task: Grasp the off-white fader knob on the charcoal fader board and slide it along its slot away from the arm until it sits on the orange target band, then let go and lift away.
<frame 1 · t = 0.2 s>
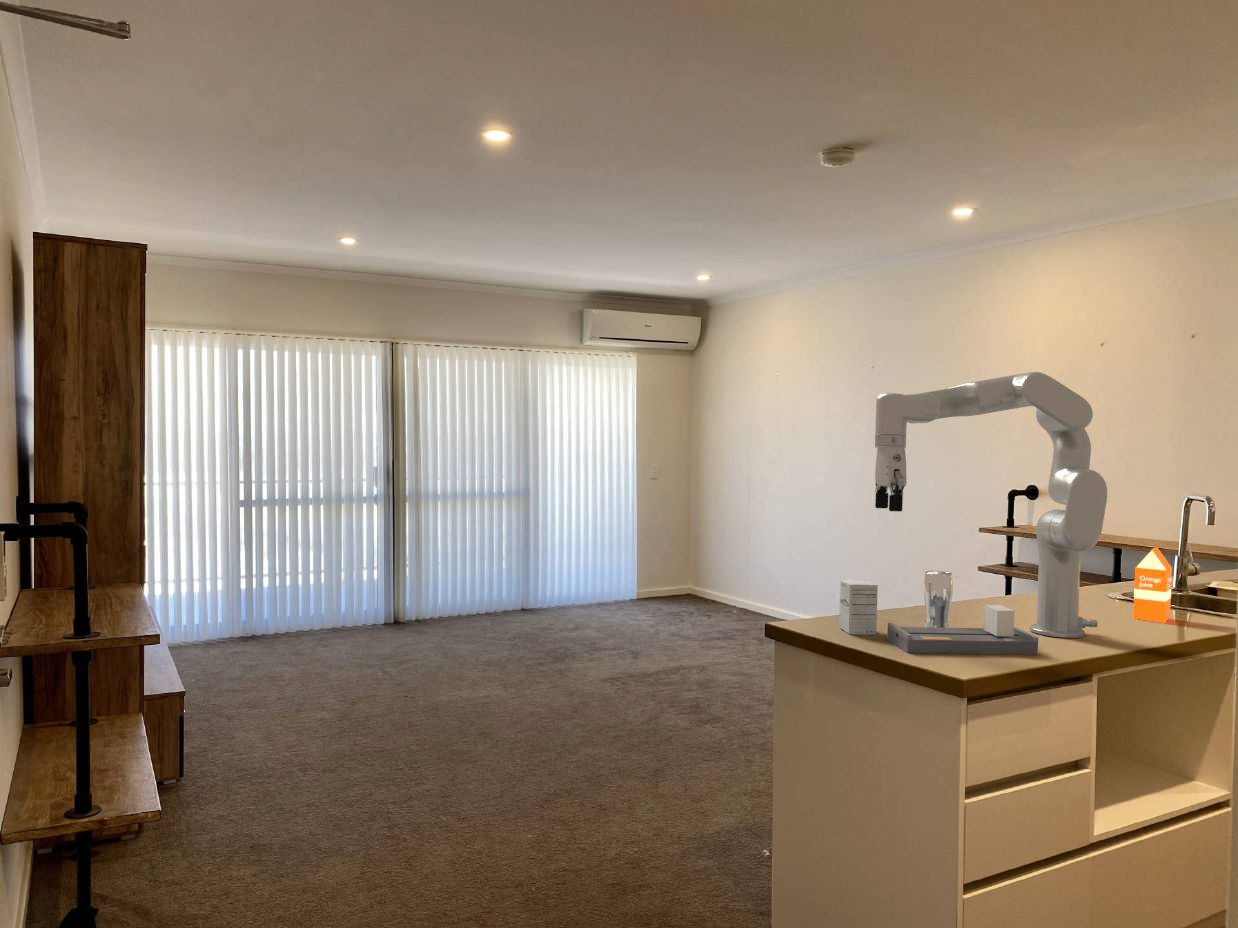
hand: (888, 509, 222), 31 cm above the counter, tool pointing down, fingers open, 9 cm apart
fader board: (960, 646, 207), on the counter
orange juice: (1151, 619, 246), on the counter
supplement box: (857, 632, 222), on the counter
fader: (998, 622, 207), point 6 cm above the counter, slide at 0.0 cm
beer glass: (936, 631, 224), on the counter
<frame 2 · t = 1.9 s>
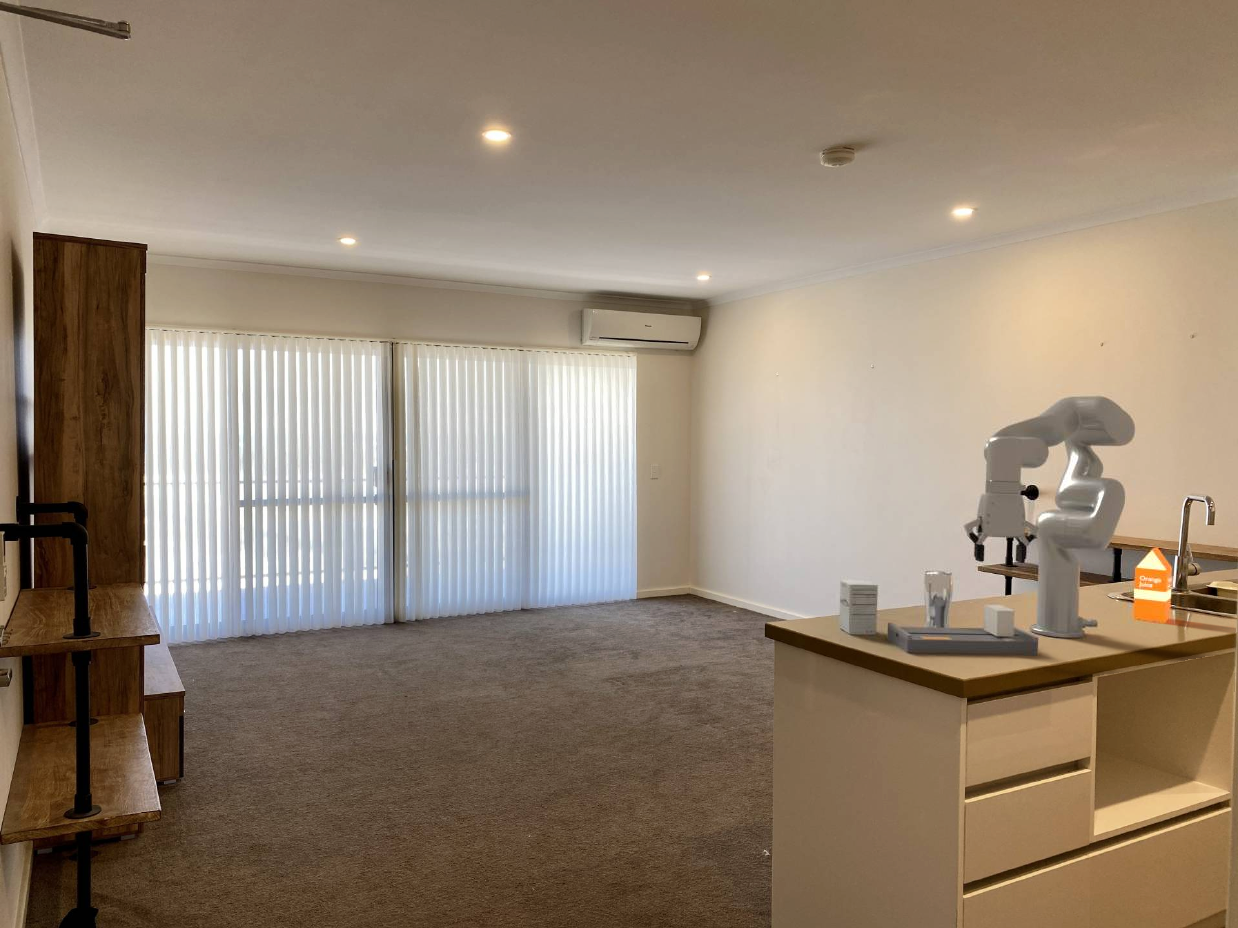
hand: (999, 561, 206), 20 cm above the counter, tool pointing down, fingers open, 9 cm apart
nothing on the counter moved.
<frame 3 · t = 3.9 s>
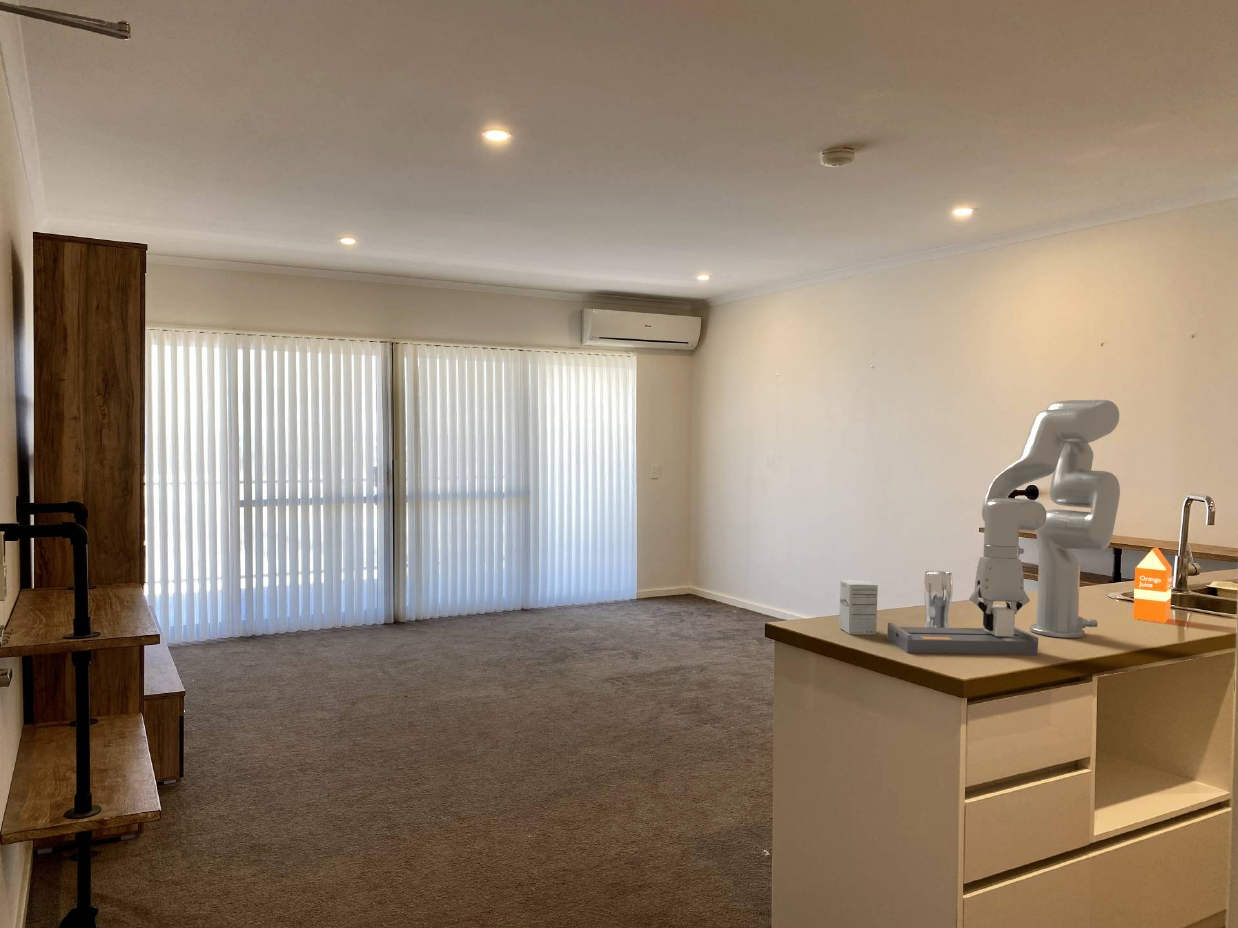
hand: (998, 629, 207), 4 cm above the counter, tool pointing down, fingers closed on fader, 4 cm apart
fader: (998, 622, 207), point 6 cm above the counter, slide at 0.0 cm, touching gripper
everything else where it was.
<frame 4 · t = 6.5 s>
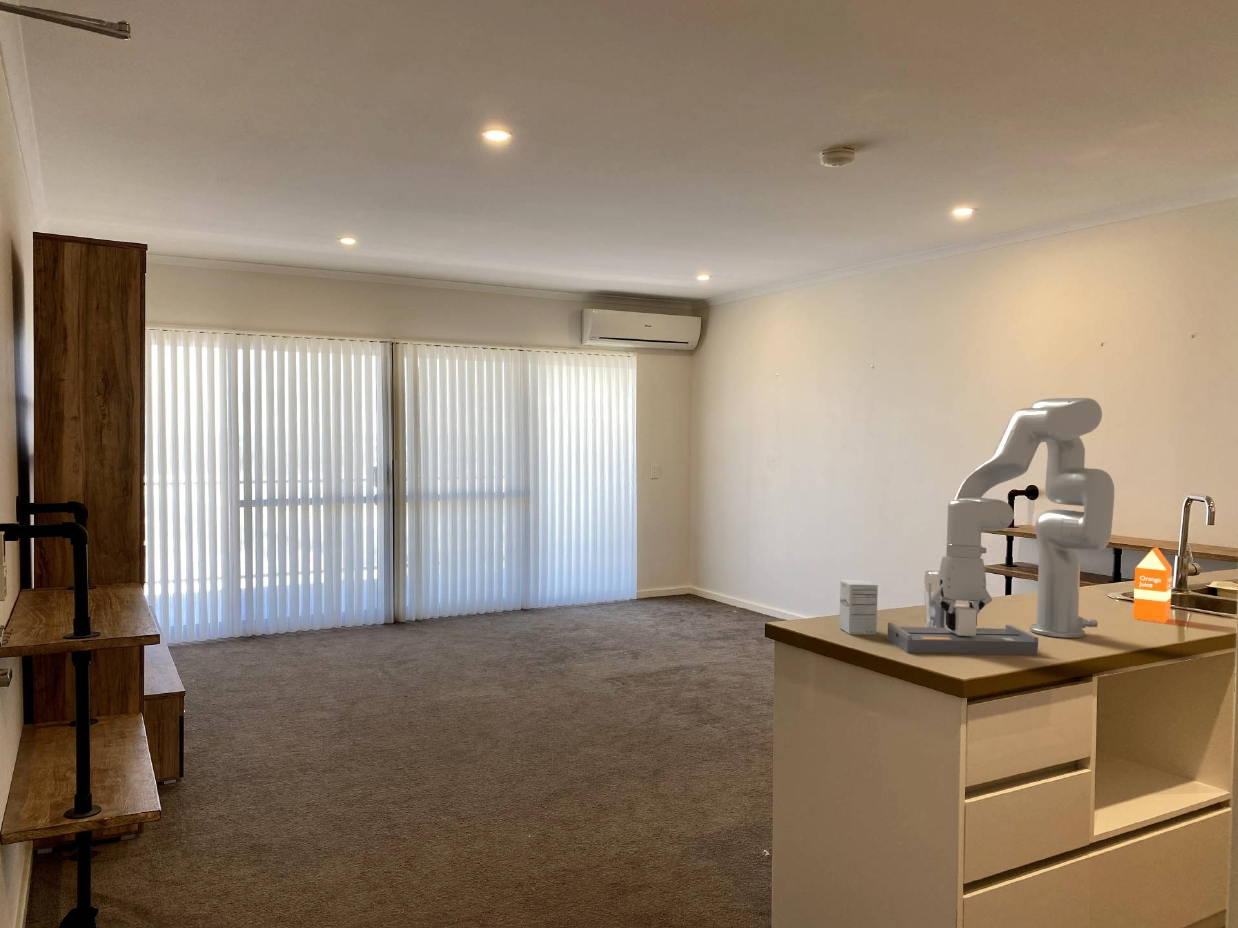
hand: (961, 628, 207), 4 cm above the counter, tool pointing down, fingers closed on fader, 4 cm apart
fader: (961, 622, 207), point 6 cm above the counter, slide at 8.9 cm, touching gripper
everything else where it was.
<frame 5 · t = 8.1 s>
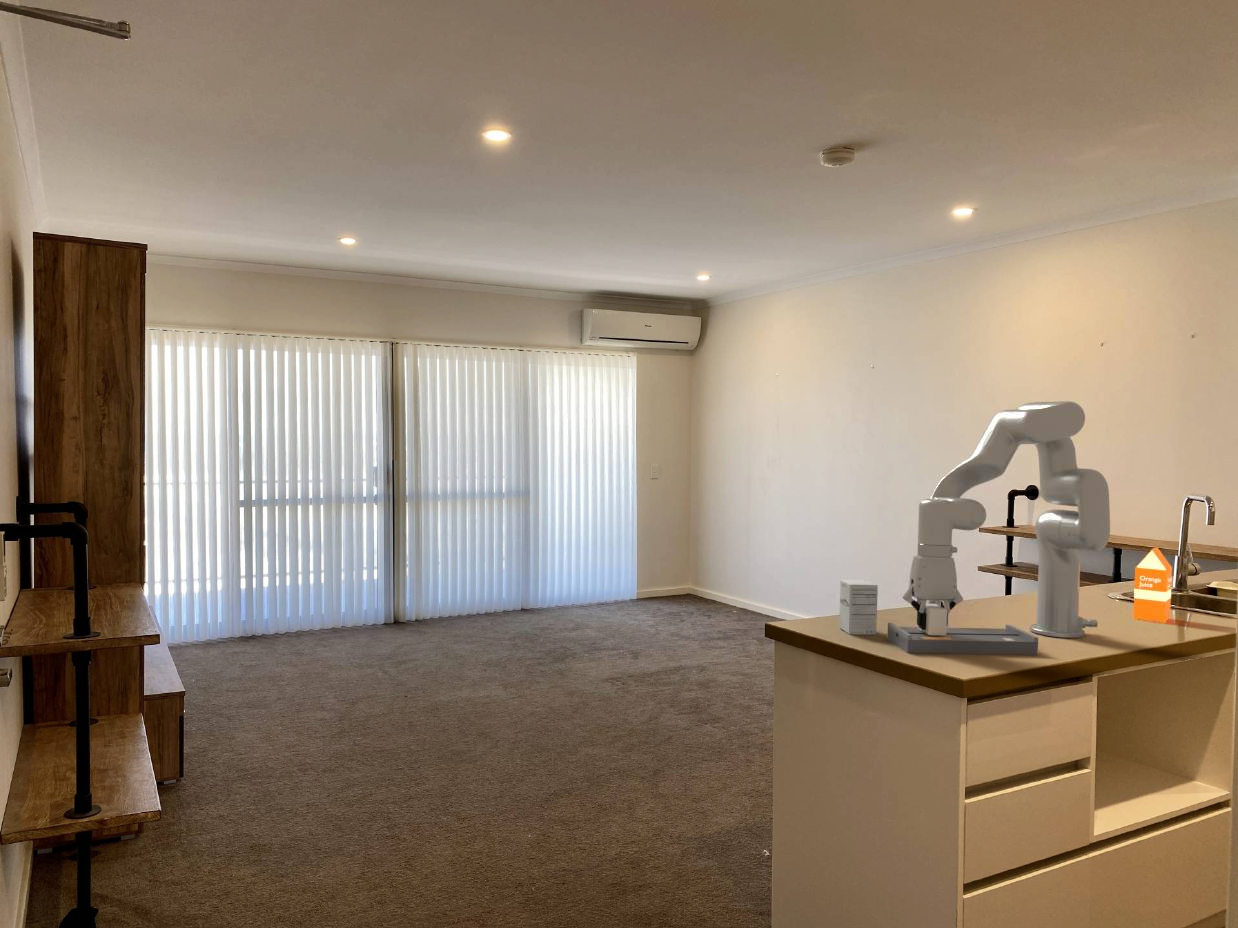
hand: (932, 627, 207), 4 cm above the counter, tool pointing down, fingers closed on fader, 4 cm apart
fader: (932, 621, 207), point 6 cm above the counter, slide at 15.8 cm, touching gripper
everything else where it was.
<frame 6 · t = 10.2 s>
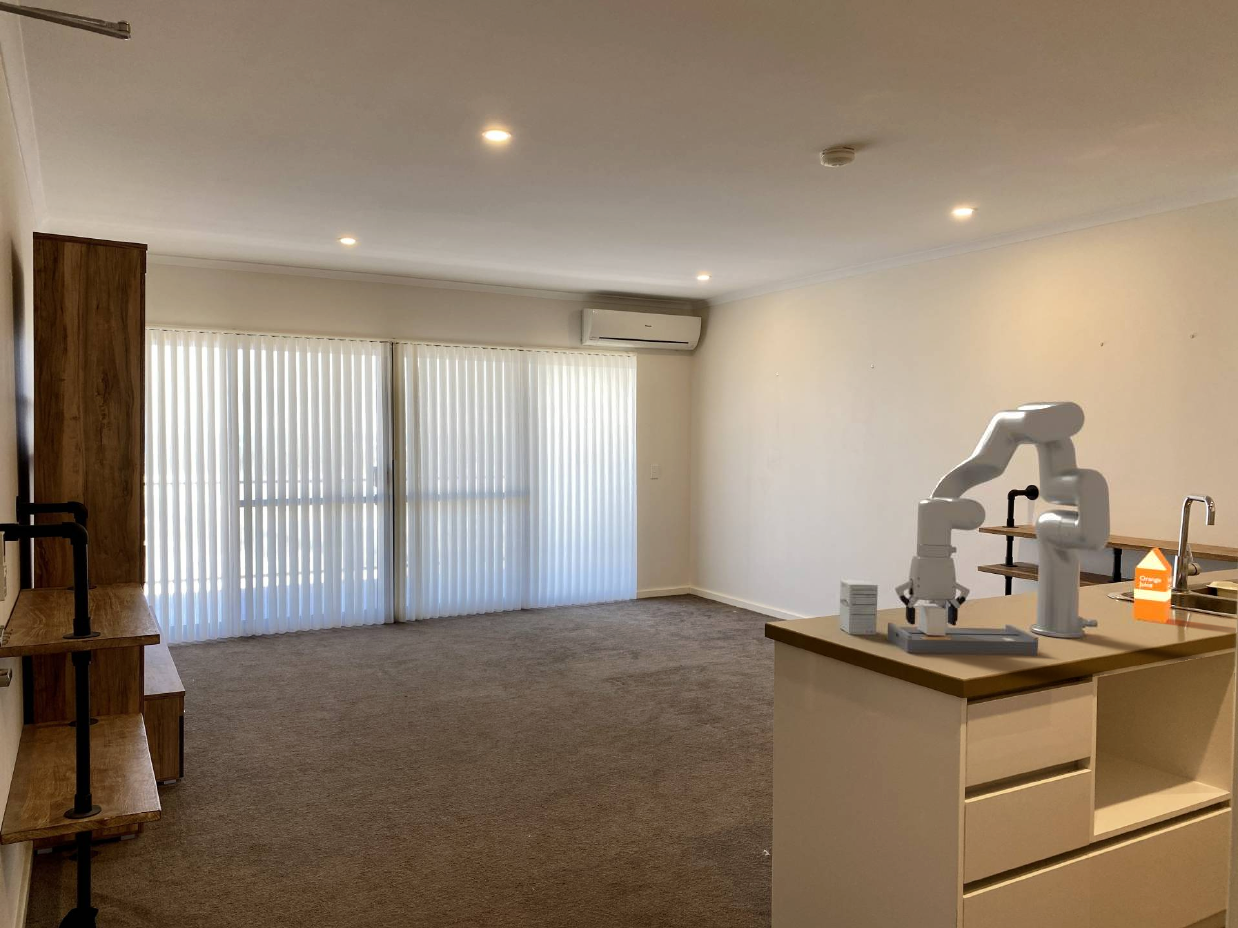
hand: (931, 623, 207), 5 cm above the counter, tool pointing down, fingers open, 9 cm apart
fader: (931, 621, 207), point 6 cm above the counter, slide at 16.0 cm
everything else where it was.
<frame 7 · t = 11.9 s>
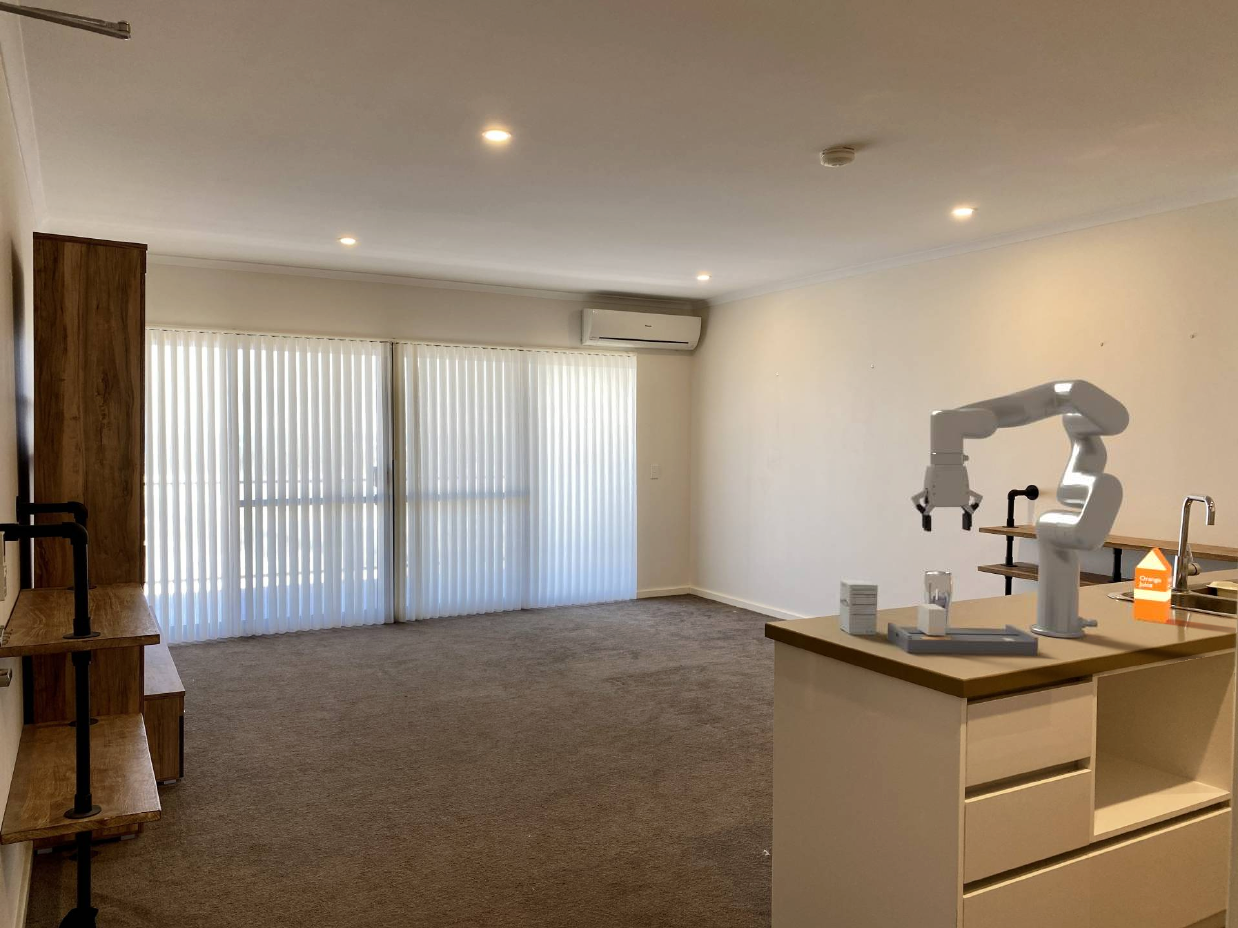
hand: (946, 530, 213), 27 cm above the counter, tool pointing down, fingers open, 9 cm apart
nothing on the counter moved.
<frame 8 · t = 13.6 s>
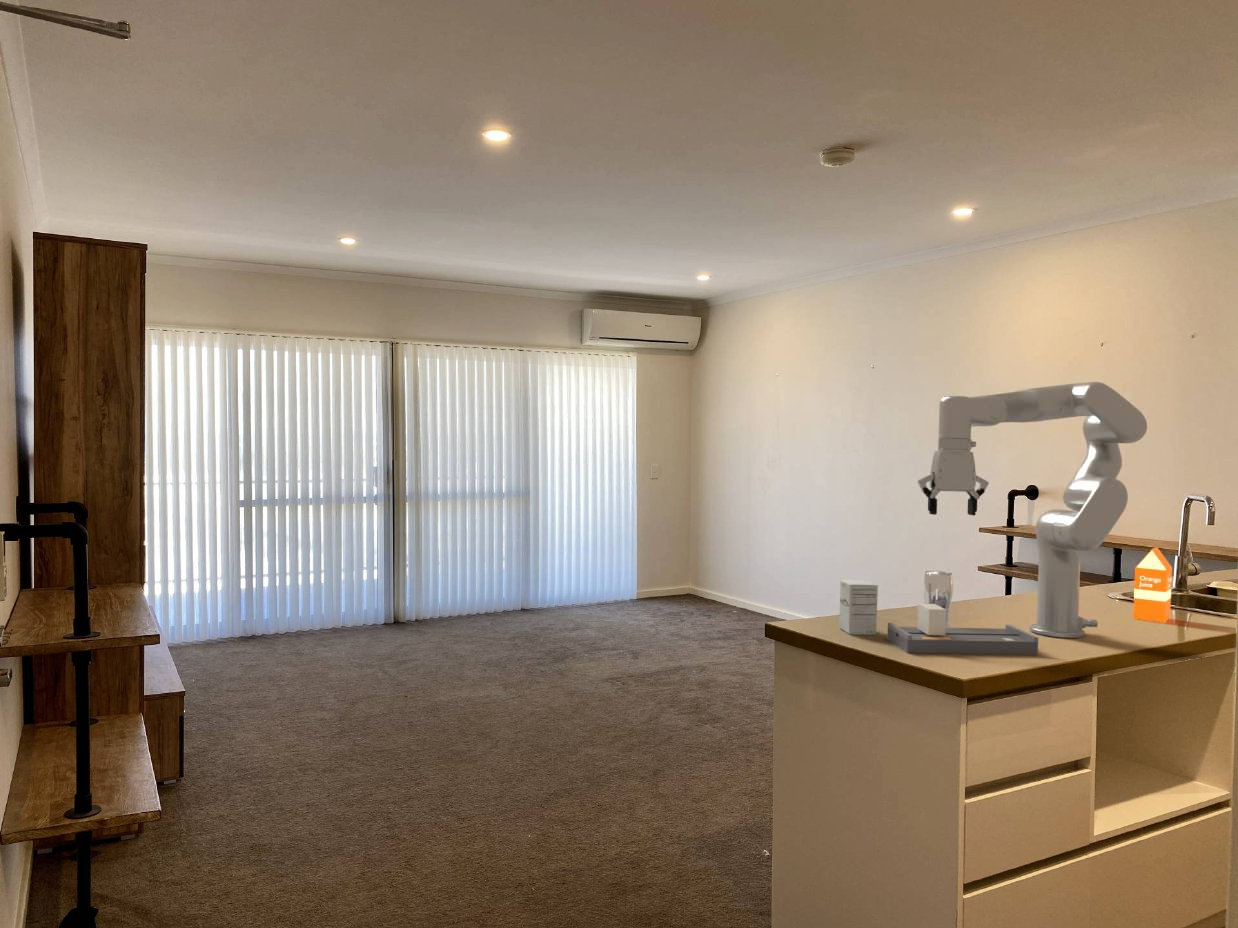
hand: (952, 514, 218), 30 cm above the counter, tool pointing down, fingers open, 9 cm apart
nothing on the counter moved.
at the end: fader slide at 16.0 cm; the gripper is holding nothing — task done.
